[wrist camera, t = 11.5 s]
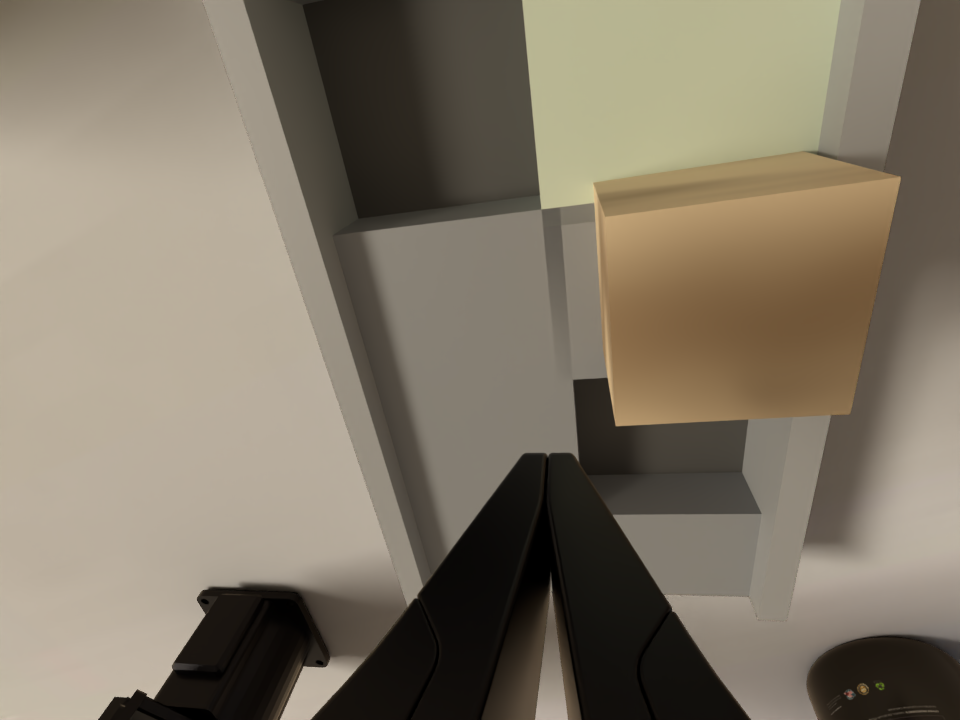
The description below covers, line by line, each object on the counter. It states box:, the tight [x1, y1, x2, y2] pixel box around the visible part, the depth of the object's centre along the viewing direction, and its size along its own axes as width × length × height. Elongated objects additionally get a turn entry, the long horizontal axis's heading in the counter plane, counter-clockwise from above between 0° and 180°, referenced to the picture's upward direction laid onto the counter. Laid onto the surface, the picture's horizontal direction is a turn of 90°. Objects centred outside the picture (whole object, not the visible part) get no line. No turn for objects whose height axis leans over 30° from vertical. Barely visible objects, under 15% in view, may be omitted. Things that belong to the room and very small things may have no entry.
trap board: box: [202, 0, 921, 621], centre depth 16 cm, size 24×15×4 cm, turn 9°
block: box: [593, 151, 901, 426], centre depth 12 cm, size 5×5×4 cm
